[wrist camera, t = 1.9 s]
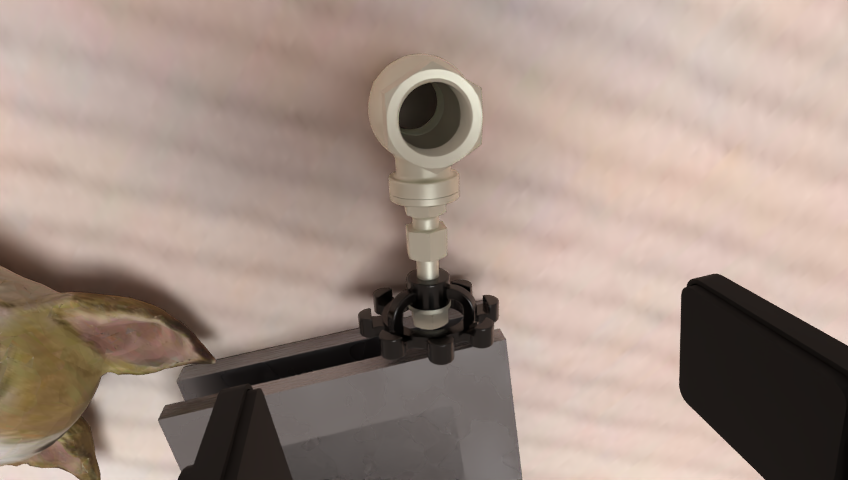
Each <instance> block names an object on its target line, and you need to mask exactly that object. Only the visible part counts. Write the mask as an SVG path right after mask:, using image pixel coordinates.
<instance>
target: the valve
mask: <svg viewBox="0 0 848 480" xmlns="http://www.w3.org/2000/svg"><path fill="white" fill-rule="evenodd" d="M429 82H430V83H431V84H432V86H433V87H434V89H435V92H436V95H437V107H436V110H435V113H434V115H433V117H432V118H431V119H430V121H429V122H428V123H426V124H425V125H424V126H422V127H420V128H416V129H404V128H400V127H399V112H400V108H401V106H402V103H403V101H404V100H405V98H406V97H407V96H408V94H409V93H410V92H411V91H413V90H414V89H415V88H417V87H418V86H420V85H422V84H426V83H429ZM368 116H369V121H370V125H371V128H372V130H373V132H374V134H375V136H376V138H377V139H378V141H379V142H380V143H381V145H382V146H383V147H384V148H385V149H386V150H387V151H389V152H390V153H391V154H393V156H394V158H395V167H396V171H395V172H393V173H391V174H390V175H389V177H388V181H389V195H390V200H391V201H392V202H393V203H395V204H397V205H401V206H405V212H406V214H407V216H410V217H412V223H410V224H407V225H406V238H407V252H408V256H409V258H410V259H412V260H415V261H416V264H417V269H416V270H413V271H411V272H410V273H409V274H408V275H407V277H406V280H407V290H404V291H402V292H401V293H400V294H398V295H397V296H396V297H395V298H394V297H392V289H391V288H381V289H378V290H376V291H375V292H374V293H373V300H374V310H375V312H376V313H377V314H379V315H381V316H371V309H370V308H368V309H364V310H362V311H361V312H360V313H359V314H358V320H359V330H360V334H361V335H362V336H363V337H366V338H375V337H378V336H379V343H380V354H381V356H382V357H383V358H385V359H388V360H397V359H400V358H402V357H403V356H404V355H405V354H406V350H408V349H411V348H418V349H426V350H427V351H428V359H429V361H430V362H431V363H433V364H436V365H446V364H449V363H451V362H452V361H453V360H454V357H455V353H454V345H455V344H457V343H460V342H469V344H470V345H471V346H473V347H475V348H481V349H482V348H488V347H490V346H491V345H492V344H493V343H494V322H496V321H497V320H498V318H499V300H498V298H496V297H495V296H491V295H483V303H482V304H478V305H476V301H475V299H474V297H473V296H472V283H471V282H469V281H467V280H455V281H453V282H451V284H450V275H449V273H448V272H447V271H445V270H443V269H440V268H439V261H438V260H440V259H442V258H444V257H445V256H447V228H446V226H445V225H444V223H443V222H442V221H439V216H440V215H442V214H444V213H445V212H446V204H448V203H451V202H453V201H455V200H457V199H458V198H459V173H458V172H457V171H455V170H453V169H451V166H452V165H453V164H455V163H456V162H458V161H459V160H461V159H462V158H464V157H465V156H467V155H468V154H469V153H471V152H472V151H473V150H475V149H476V148H477V147H479V146H480V145H481V144H482V118H483V117H482V91H481V88H480V87H478V86H477V85H475V84H473V83H471V82H470V81H468V80H466V79H465V78H464V77H463V75H462V74H461V73H460V72H459V70H458V69H457V68H455V67H454V66H453V65H452V64H451V63H449V62H448V61H446V60H444V59H442V58H439V57H437V56H433V55H429V54H412V55H408V56H404V57H402V58H399V59H397V60H395V61H394V62H392V63H390V64H389V65H388V66H387V67H386V68H385V69H384V70H383V71H382V72H381V73H380V74H379V76H378V77H377V78H376V80H375V81H373V86H372V89H371V92H370V95H369V101H368ZM449 308H452V309H455V310H457V311H459V312H460V313H461V314H462V315H463V319H462V320H461V321H460V322H459V323H458V324H456V325H454V326H452V327H449V328H446V329H441V330H434V331H420V330H414V329H410V328H407V327H404V326H403V312H405V311H407V310H409V309H410V310H411V311H412V318H413V322H414V325H415V327H418V328H421V329H426V330H433V329H437V328H440V327H442V326H444V325H445V324H447V323H448V309H449ZM479 322H480V323H481V324H478V323H479Z"/></svg>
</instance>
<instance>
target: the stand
mask: <svg viewBox="0 0 848 480" xmlns="http://www.w3.org/2000/svg"><path fill="white" fill-rule="evenodd" d="M482 303H483V300H482V301H478V302H476V305H478V304H482ZM462 319H463V315H462V314H461V313H460V312H459V311H457V310H455V309H452V308H449V309H448V323H447V324H445V325H444V326H442V327H440V328H437V329H433V330H426V329H421V328H418V327H415V325H414V322H413V318H412V316H411V317H406V318H403V326H404V327H407V328H410V329H414V330H420V331H434V330H441V329H446V328H449V327H452V326H454V325H456V324H458V323H459V322H460V321H461V320H462ZM478 324H481V323H480V322H479V323H478ZM454 353H455V357H454V360H453V361H452V362H451V363H449V364H446V365H436V364H433V363H431V362H430V361H429V359H428V351H427V350H426V349H418V348H411V349H408V350H406V354H405V355H404V356H403V357H402V358H400V359H397V360H388V359H385V358H383V357H382V356H381V354H380V343H379V336H378V337H375V338H366V337H363V336H362V335H361V334H360V330H359V328H357V329H353V330H348V331H344V332H339V333H335V334H330V335H326V336H321V337H317V338H312V339H308V340H303V341H299V342H294V343H290V344H286V345H281V346H277V347H272V348H268V349H263V350H259V351H254V352H250V353H245V354H241V355H236V356H232V357H227V358H223V359H219V360H216V363H214V364H196V365H192V366H187V367H183V369H182V372H181V374H180V376H179V378H178V380H177V384H178V386H179V388H180V391H181V393H182V395H183V398H184V400H185V401H182V402H178V403H173V404H169V405H165V407H164V409H163V411H162V413H161V415H160V417H159V419H158V421H159V424H160V426H161V428H162V430H163V432H164V435H165V437H166V439H167V441H168V443H169V446H170V448H171V450H172V452H173V454H174V456H175V459H176V461H177V463H178V465H179V467H180V470H181V472H182V470H183V469H184V468H185V467H186V466H189V465H193V464H194V462H195V459H196V456H197V453H198V450H199V447H200V444H201V442H202V439H203V436H204V433H205V430H206V427H207V424H208V421H209V419H210V416H211V413H212V410H213V407H214V404H215V401H216V399H217V396H218V393H219V391H220V390H222V389H226V388H230V387H235V386H239V385H243V384H247V383H249V384H250V385H251V386H252V388H253V389H257V388H261V389H262V391H263V393H264V396H265V399H266V402H267V405H268V408H269V411H270V414H271V417H272V420H273V423H274V426H275V429H276V431H277V434H278V437H279V440H280V443H281V446H282V449H283V452H284V455H285V458H286V461H287V464H288V467H289V470H290V473H291V476H292V479H293V480H522V472H521V464H520V455H519V447H518V438H517V430H516V421H515V413H514V404H513V396H512V387H511V379H510V370H509V361H508V353H507V344H506V339H505V337H504V335H503V334H502V332H501V330H500V329H496V330H494V343H493V344H492V345H491V346H490V347H488V348H482V349H481V348H475V347H473V346H471V345H470V344H469V342H460V343H457V344H455V345H454Z"/></svg>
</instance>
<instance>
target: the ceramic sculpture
mask: <svg viewBox="0 0 848 480" xmlns="http://www.w3.org/2000/svg"><path fill="white" fill-rule="evenodd" d="M214 363H216V359H215V358H214V357H213V356H212V354H211V353H210V352H209V351H208V350H207V348H206V347H205V346H204V345H203V344H202V343H201V342H200V340H199V339H198V338H197V337H196V336H195V334H194V333H193V332H192V331H191V330H190V329H189V328H187V327H186V326H185V325H184V324H183V323H182V322H181V321H179V320H177V319H175V318H174V317H172V316H171V315H169V314H168V313H167V312H166V311H165V310H163V309H161V308H159V307H157V306H154V305H152V304H149V303H146V302H143V301H139V300H136V299H133V298H130V297H128V298H127V297H121V296H113V295H104V294H95V293H83V292H65V293H59V292H57V291H55V290H53V289H51V288H49V287H47V286H45V285H43V284H41V283H38V282H35V281H32V280H30V279H27V278H24V277H22V276H20V275H18V274H16V273H14V272H12V271H10V270H8V269H6V268H4V267H2V266H0V466H4V465H13V466H18V465H21V464H28V465H29V466H34V467H40V468H60V469H63V470H65V471H67V472H70V473H72V474H73V475H74V476H76V477H77V478H78V479H80V480H101V479H100V470H99V466H98V463H97V459H96V455H95V448H94V443H93V438H92V434H91V429H90V426H89V425H88V423H87V422H86V421H85V420H84V419H83V418H82V417H81V415H82V413H83V412H84V411H85V409H86V408H87V407H88V405H89V403H90V401H91V399H92V398H93V396H94V394H95V392H96V390H97V388H98V385H99V382H100V379H101V376H102V375H104V374H106V373H107V372H113V373H115V374H118V375H122V374H132V375H144V374H150V373H155V372H158V371H161V370H163V369H167V368H172V367H177V366H182V365H187V364H214Z"/></svg>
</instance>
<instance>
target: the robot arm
mask: <svg viewBox="0 0 848 480" xmlns="http://www.w3.org/2000/svg"><path fill="white" fill-rule="evenodd" d="M679 387H680V392H681V394H682V397H683V398H684V400H685V401H686V402H687V404H688V405H689V406H690V407H692V408H693V409H694V410H695V411H696V412H697V413H698V414H699V415H700V416H701V417H702V418H703V419H704V420H705V421H706V422H707V423H708V424H709V425H710V426H711V427H712V428H713V429H714V430H715V431H716V432H717V433H718V434H719V435H720V436H721V437H722V438H723V439H724V440H725V441H726V442H727V443H728V444H729V445H730V446H731V447H732V448H733V449H735V450H736V451H737V452H738V453H739V454H740V455H741V456H742V457H743V458H744V459H745V460H746V461H747V462H748V463H749V464H750V465H751V466H752V467H753V468H754V469H755V470H756V471H757V472H758V473H759V474H760V475H761V476H762V477H763V478H764V479H765V480H848V346H847V345H845V344H844V343H842V342H840V341H838V340H837V339H835V338H833V337H831V336H829V335H828V334H826V333H824V332H822V331H820V330H819V329H817V328H815V327H813V326H811V325H810V324H808V323H806V322H804V321H803V320H801V319H799V318H797V317H795V316H794V315H792V314H790V313H788V312H786V311H785V310H783V309H781V308H779V307H777V306H776V305H774V304H772V303H770V302H769V301H767V300H765V299H763V298H761V297H760V296H758V295H756V294H754V293H752V292H751V291H749V290H747V289H745V288H743V287H742V286H740V285H738V284H736V283H735V282H733V281H731V280H729V279H727V278H726V277H724V276H722V275H719V274H711V275H707V276H703V277H699V278H694V279H691V280H690V281H689V282H688V284H687V287H685V288H684V289H683V290H682V294H681V333H680V376H679ZM178 480H293V479H292V476H291V473H290V470H289V467H288V464H287V461H286V458H285V455H284V452H283V449H282V446H281V443H280V440H279V437H278V434H277V431H276V429H275V426H274V423H273V420H272V417H271V414H270V411H269V408H268V405H267V402H266V399H265V396H264V393H263V391H262V389H261V388H257V389H253V388H252V386H251V385H250V384H249V383H247V384H243V385H239V386H235V387H230V388H226V389H222V390H220V391H219V393H218V396H217V399H216V401H215V404H214V407H213V410H212V413H211V416H210V419H209V421H208V424H207V427H206V430H205V433H204V436H203V439H202V442H201V444H200V447H199V450H198V453H197V456H196V459H195V462H194V464H193V465H189V466H186V467H185V468H184V469H183V470H182V472H181V474H180V476H179V478H178Z"/></svg>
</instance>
